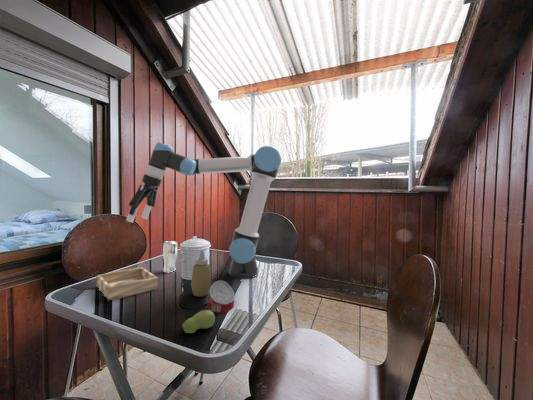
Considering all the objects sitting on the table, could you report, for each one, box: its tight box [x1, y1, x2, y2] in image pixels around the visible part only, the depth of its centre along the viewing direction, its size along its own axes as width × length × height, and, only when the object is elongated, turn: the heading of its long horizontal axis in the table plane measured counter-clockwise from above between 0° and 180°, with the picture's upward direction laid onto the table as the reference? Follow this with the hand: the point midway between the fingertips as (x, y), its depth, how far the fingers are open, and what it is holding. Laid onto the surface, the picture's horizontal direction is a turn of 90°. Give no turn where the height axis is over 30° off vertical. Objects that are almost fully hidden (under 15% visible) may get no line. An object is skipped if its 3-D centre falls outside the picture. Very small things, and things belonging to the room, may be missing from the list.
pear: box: [181, 309, 216, 334], centre depth 76 cm, size 6×5×10 cm
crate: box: [96, 266, 159, 302], centre depth 105 cm, size 18×18×5 cm
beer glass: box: [162, 240, 178, 274], centre depth 128 cm, size 7×7×15 cm
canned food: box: [206, 280, 236, 313], centre depth 92 cm, size 11×10×10 cm
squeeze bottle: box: [190, 249, 212, 298], centre depth 101 cm, size 8×8×18 cm
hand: (137, 219), depth 113 cm, fingers open, 13 cm apart
